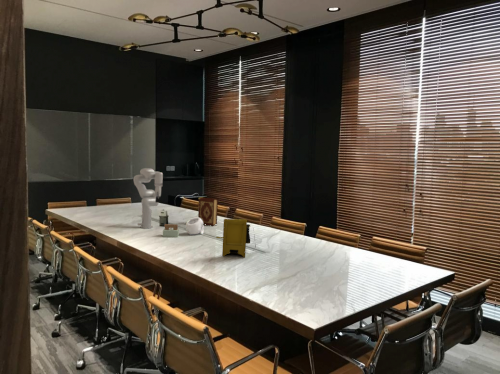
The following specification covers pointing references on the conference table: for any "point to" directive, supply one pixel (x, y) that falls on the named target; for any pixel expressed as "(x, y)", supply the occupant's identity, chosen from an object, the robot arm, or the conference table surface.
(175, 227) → the wooden staple shape
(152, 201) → the robot arm
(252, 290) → the conference table surface
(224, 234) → the olive boxy piece
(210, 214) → the decorative book
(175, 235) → the pale green box
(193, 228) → the skull planter
